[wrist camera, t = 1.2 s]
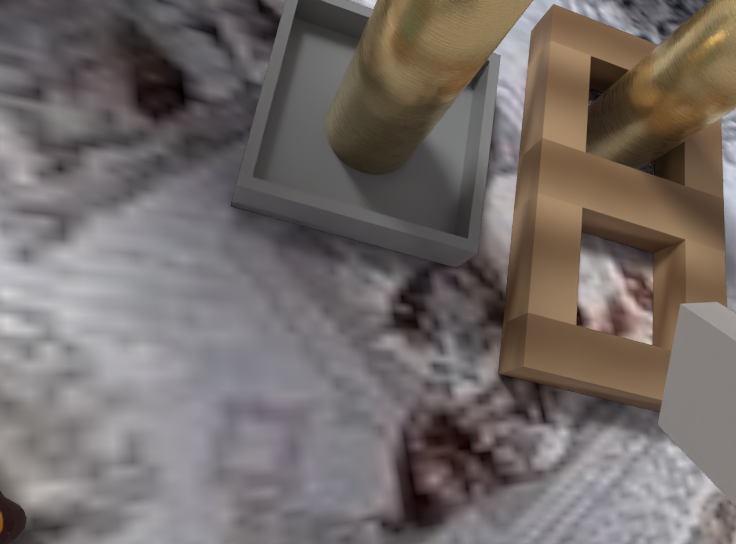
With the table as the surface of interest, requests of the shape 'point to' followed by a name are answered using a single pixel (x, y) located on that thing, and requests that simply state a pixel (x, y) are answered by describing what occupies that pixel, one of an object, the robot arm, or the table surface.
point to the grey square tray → (338, 180)
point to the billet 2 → (669, 91)
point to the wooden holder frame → (601, 222)
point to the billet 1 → (411, 75)
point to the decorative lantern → (10, 520)
